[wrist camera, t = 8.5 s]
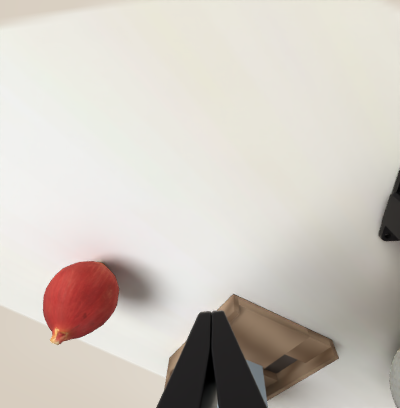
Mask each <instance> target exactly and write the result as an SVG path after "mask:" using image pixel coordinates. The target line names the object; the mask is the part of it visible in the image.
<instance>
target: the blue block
mask: <svg viewBox="0 0 400 408" xmlns="http://www.w3.org/2000/svg"><path fill="white" fill-rule="evenodd" d="M246 361H247V364H248V366H249V368H250V370H251V373H252V375H253V377H254V379H255V382H256V384H257V386H258V388H259V390H260V393H261V395H262V397H263V399H264V402H265V404H266V406H267V408H268V404H267V397H266V389H265V382H264V374H263V367H262V366H261V365H258V364H256V363H253V362H251V361H248V360H246ZM217 408H219V407H218V404H217Z"/></svg>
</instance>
